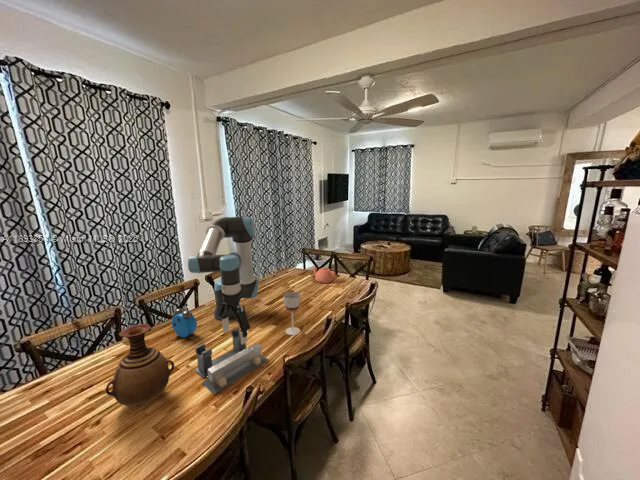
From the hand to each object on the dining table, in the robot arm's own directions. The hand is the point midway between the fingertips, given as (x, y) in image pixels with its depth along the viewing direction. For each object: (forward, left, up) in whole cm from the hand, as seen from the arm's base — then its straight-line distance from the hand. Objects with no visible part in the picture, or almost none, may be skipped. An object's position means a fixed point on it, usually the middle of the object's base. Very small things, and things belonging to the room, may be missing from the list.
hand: (234, 337), depth 119 cm
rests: (0, 0, -17) cm, 17 cm away
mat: (0, 0, -17) cm, 17 cm away
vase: (-13, -32, -17) cm, 39 cm away
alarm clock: (-48, -1, -17) cm, 51 cm away
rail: (0, 0, -14) cm, 14 cm away
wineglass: (-5, +40, -17) cm, 44 cm away
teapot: (-42, +114, -17) cm, 122 cm away
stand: (-11, 0, -17) cm, 20 cm away
